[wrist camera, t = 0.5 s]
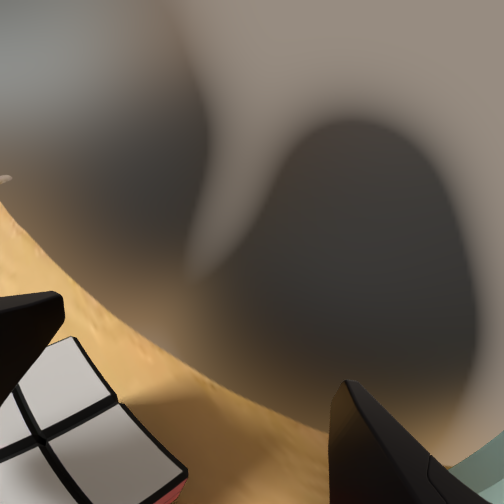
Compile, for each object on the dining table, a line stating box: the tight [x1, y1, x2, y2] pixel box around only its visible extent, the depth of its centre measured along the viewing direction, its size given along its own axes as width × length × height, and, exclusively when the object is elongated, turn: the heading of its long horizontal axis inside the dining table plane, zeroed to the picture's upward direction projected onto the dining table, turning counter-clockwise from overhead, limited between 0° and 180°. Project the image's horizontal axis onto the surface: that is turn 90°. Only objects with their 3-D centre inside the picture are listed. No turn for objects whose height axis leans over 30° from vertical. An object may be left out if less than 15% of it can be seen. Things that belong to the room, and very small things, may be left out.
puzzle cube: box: [0, 336, 188, 504], centre depth 9 cm, size 10×10×10 cm
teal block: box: [448, 431, 504, 504], centre depth 8 cm, size 5×5×14 cm
